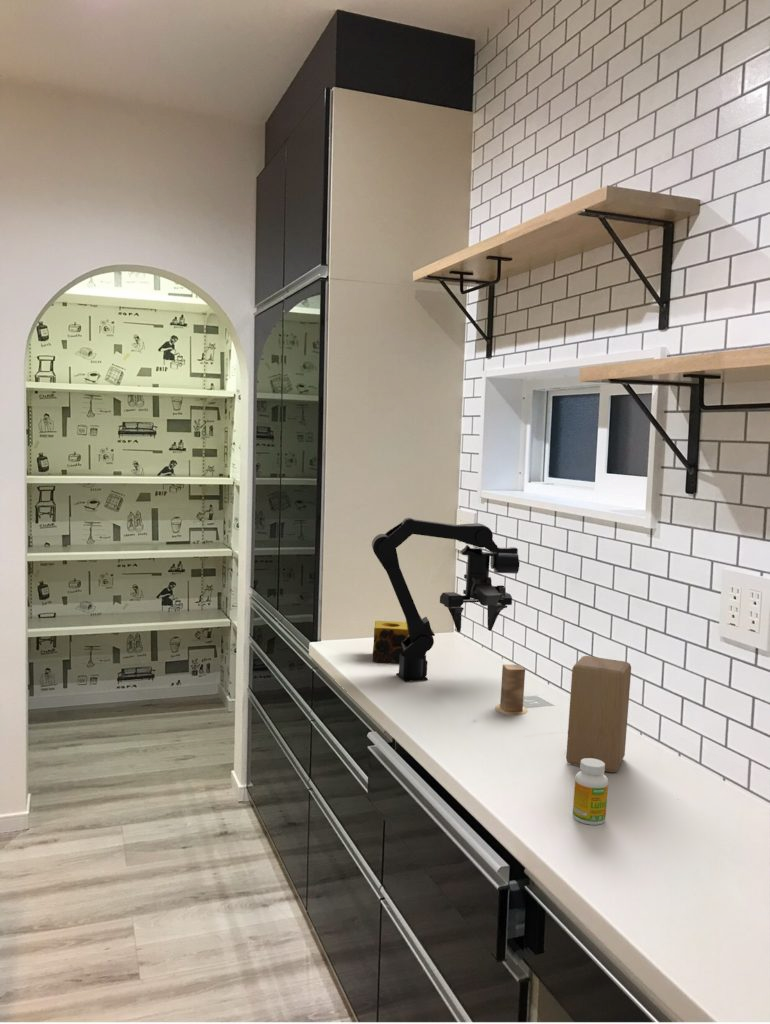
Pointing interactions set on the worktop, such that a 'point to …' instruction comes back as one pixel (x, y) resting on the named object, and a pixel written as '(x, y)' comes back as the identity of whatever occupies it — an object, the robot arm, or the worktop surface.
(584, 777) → the supplement bottle
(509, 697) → the walnut block
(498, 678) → the worktop surface
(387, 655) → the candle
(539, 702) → the tile
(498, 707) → the cork coaster
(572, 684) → the block
